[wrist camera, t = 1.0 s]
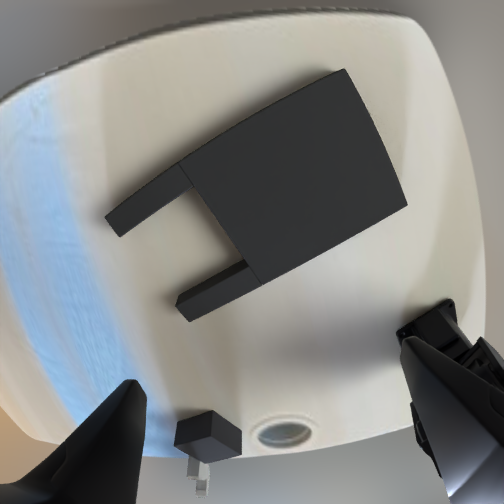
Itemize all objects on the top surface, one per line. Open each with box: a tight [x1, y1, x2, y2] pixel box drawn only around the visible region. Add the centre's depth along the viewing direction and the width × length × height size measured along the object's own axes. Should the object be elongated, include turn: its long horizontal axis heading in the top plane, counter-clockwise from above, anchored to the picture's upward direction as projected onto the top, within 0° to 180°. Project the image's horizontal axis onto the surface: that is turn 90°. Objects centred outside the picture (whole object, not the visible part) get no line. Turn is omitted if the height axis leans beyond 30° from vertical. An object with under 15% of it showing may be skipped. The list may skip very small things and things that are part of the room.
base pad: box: [105, 69, 408, 322], centre depth 20 cm, size 10×18×2 cm, turn 121°
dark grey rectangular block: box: [174, 410, 242, 464], centre depth 30 cm, size 5×5×4 cm
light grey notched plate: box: [187, 455, 210, 498], centre depth 33 cm, size 6×1×10 cm
